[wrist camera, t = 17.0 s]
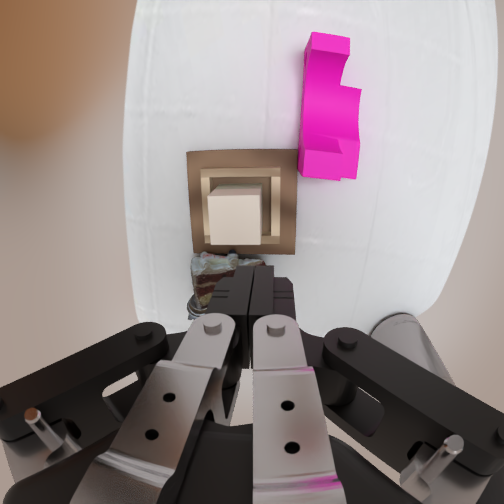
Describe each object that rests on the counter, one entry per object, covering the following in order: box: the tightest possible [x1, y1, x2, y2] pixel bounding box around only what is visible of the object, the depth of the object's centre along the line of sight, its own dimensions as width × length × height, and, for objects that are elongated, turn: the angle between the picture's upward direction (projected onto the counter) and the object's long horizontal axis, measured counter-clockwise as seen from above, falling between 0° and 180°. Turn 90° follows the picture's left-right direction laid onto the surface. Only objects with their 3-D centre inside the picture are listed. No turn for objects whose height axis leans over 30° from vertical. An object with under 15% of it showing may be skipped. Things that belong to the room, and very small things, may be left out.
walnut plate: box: [186, 149, 298, 255], centre depth 35 cm, size 13×13×3 cm
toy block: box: [297, 32, 362, 181], centre depth 28 cm, size 15×6×8 cm, turn 177°
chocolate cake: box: [187, 249, 266, 320], centre depth 37 cm, size 10×7×12 cm
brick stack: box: [207, 183, 263, 245], centre depth 32 cm, size 5×5×7 cm
